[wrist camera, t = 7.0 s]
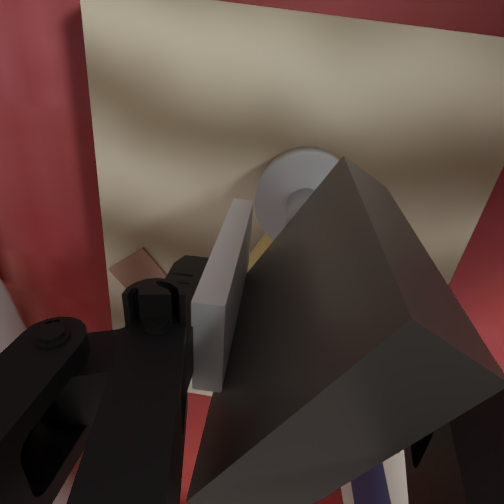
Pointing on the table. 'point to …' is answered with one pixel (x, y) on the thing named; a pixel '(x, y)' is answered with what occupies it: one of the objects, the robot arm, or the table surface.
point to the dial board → (279, 121)
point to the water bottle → (379, 484)
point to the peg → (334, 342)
